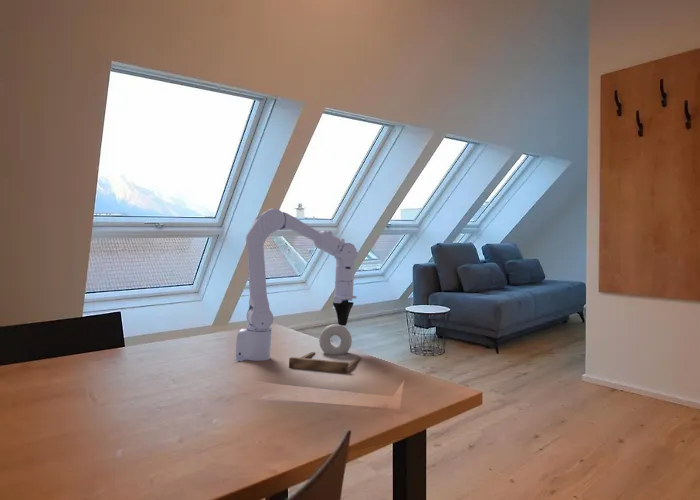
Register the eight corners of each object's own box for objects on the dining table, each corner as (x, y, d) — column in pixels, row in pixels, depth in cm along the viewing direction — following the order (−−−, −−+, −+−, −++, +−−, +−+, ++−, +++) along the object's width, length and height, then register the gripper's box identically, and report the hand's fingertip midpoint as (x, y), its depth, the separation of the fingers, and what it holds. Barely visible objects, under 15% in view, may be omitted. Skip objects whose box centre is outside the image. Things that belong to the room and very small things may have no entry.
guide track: (288, 367, 127) (289, 357, 127) (311, 356, 145) (311, 347, 145) (346, 373, 123) (346, 363, 123) (362, 360, 141) (362, 352, 141)
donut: (351, 357, 146) (352, 324, 146) (350, 359, 142) (351, 325, 143) (319, 355, 147) (320, 322, 147) (317, 357, 143) (319, 323, 144)
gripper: (350, 282, 140) (348, 328, 140) (362, 281, 154) (360, 323, 154) (328, 281, 142) (326, 327, 142) (341, 280, 156) (339, 322, 156)
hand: (342, 325), depth 148 cm, fingers closed
